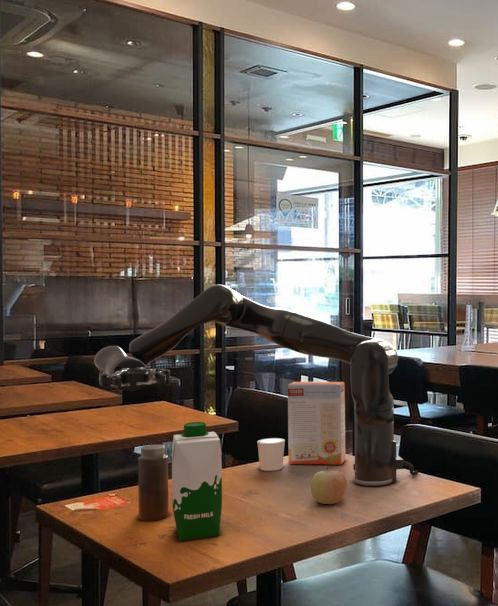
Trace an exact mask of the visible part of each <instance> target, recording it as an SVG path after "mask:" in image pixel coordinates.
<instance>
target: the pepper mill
mask: <svg viewBox="0 0 498 606" xmlns="http://www.w3.org/2000/svg"><path fill="white" fill-rule="evenodd" d="M165 450H166V449H165V444H148V445H147V444H146V445H143V446H141V447H140V456H139V457H138V458H137V480H138V481H137V484H138V485H137V486H138V487H137V489H138V493H137V494H138V519H139V520H141V521H145V522H153V521H160V520H163V519H166V518H168V516H169V514H170V513H169V455H168V454H166V453H165Z"/></svg>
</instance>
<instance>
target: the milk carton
mask: <svg viewBox="0 0 498 606" xmlns="http://www.w3.org/2000/svg"><path fill="white" fill-rule="evenodd" d="M222 455H223V453H222V445H221V439H220V437H219V435H218V434H217V433H216V432H215V431H207V423H206V422H203V421H193V422H187V423H184V424H183V433H180V434H173V437H172V445H171V460H172V461H171V497H172V498H171V499H172V500H171V501H172V512H173V517H174V522H175V527H176V528H175V529H176V532H177V536H178V539H179V542H182V541H190V540H191V541H192V540H197V539H204V538H211V537H218V536H220V531H221V520H222V508H223V472H222V471H223V470H222V469H223V465H222V464H223V463H222Z"/></svg>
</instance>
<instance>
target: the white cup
mask: <svg viewBox="0 0 498 606" xmlns="http://www.w3.org/2000/svg"><path fill="white" fill-rule="evenodd" d="M256 443H257V449H258V450H257V451H258V462H259V469H260V470H261V471H265V472H266V471H267V472H268V471H269V472H273V471H279V470H282V469H283V466H284V455H285V443H286V439H284V438H280V437H268V438H261V439H259V440H257V441H256Z"/></svg>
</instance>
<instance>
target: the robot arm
mask: <svg viewBox="0 0 498 606" xmlns="http://www.w3.org/2000/svg"><path fill="white" fill-rule="evenodd" d="M210 322H214V324H217V325H219V326H224V327H229V328H233V329H237V330H241V331H246V332H248V333H249V332H250V333H253V334H256V335H258V336H260V337H262V338H264V340H265V339H266V340H267V341H269V342H271V343H273V344H275V345H278V346H279V347H282V348H285V349H288V350H290V351H293V352H296V353H299V354H303V355H306V356H313V357H318V358H326V359H333V360H338V361H340V362H341V361H342V362H344V363H347V364H349V372H350V373H349V375H350V392H351V397H352V400H353V405H354V406H353V407H354V408H353V409H354V411H353V412H354V413H353V414H354V463H353V466H352V467H353V468H352V471H354V478H353V481H354V483H355V484H357V485H361V486H365V487H379V486H386V485H390V484H392V483H393V484H394V483H397V470H404V466H405V467H407V468H409V474H410V475H411V476H413V477H414V476H418V475H419V470H415V469H414V465H413V464H411V463H410V462H408V461H404V459H403V458H402V457H401V456H400V455H397V442H396V440H395V432H394V431H395V420H394V419H395V417H394V415H395V414H394V413H395V412H394V411H395V410H394V409H395V408H394V407H395V406H394V404H395V403H394V402H395V401H394V397H393V395H392V394H391V391H390V384H389V383H390V382H389V380H390V379H389V375H390V374H392V373H393V372H394V371H395V369H396V368H397V366H398V363H399V355H398V352H397V350H396V349H395V347H394V346H393V345H392V344H391V343H390V342H388V341H387V340H385V339H381V338H376V337H370V336H365V335H362V334H358V333H355V332H350V331H347V330H346V329H342V328H341V327H338V326H336V325H333V324H331V323H328V322H326V321H324V320H321V319H319V318H315V317H313V316H311V315H308V314H305V313H302V312H299V311H295V310H291V309H287V308H281V307H280V308H279V307H270V306H266V305H263V304H260V303H258V302H256V301H253V300H251V299H249V298H248V297H246V296H243V295H241V294H240V293H239V292H237V291H236V290H234V289H232V288H230V287H229V286H226V285H223V284H214V285H211V286H209V287H208V288H206V289H205V290H204V291H202V292H201V293H200V294H198V295H197V296H196V297H195V298H194V299H192V300H191V301H190V302H188V303H187V304H186V305H184V306H183V307H182V308H180V310H178V311H177V312H176V313H174V314H173V315H172V316H170V317H169V318H168V319H166V320H165V321H163V322H162V323H159V324H158V325H157V326H154V328H152V329H150V330H148V331H147V332H144V333H143V334H141V335H139V336H137V337H136V338H134V339H132V341H130V342H129V346H128V347H129V348H128V349H129V353H130V355H131V356H130V355H129V356H128V355H127V354H126V352H125V351H124V350H123V349H122V347H120V346H118V345H108V346H104V347H103V348H101V349H100V350H99V351H97V353H96V354H95V357H94V359H93V360H94V361H93V362H94V365H95V367H96V368H97V369H98V371H99V372H98V382H99V385H100V387H103V388H106V387H108V385H110V387H113V388H118V389H120V390H121V391H124V392H134V391H137V390H139V389H141V388H142V387H144V385H149V386H150V385H155V384H158V385H164V383H170V382H171V370H170V369H167V368H163V367H160V368H158V369H157V370H156V369H154V368H149V367H148V368H147V366H148V365H149V364H150V363H152V362H154V361H156V360H158V359H159V358H161V357H162V356H164V355H166V354H168V353H169V352H171V351H172V350H173V349H175V348H176V347H177V346H178V345H179V343H180V342H181V341H182V340H183V339H184V338H185V337H186V336H187V335H188V334H189V333H191V331H193V330H195V329H196V328H198V327H200V326H202V325H205V324H208V323H210Z"/></svg>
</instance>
